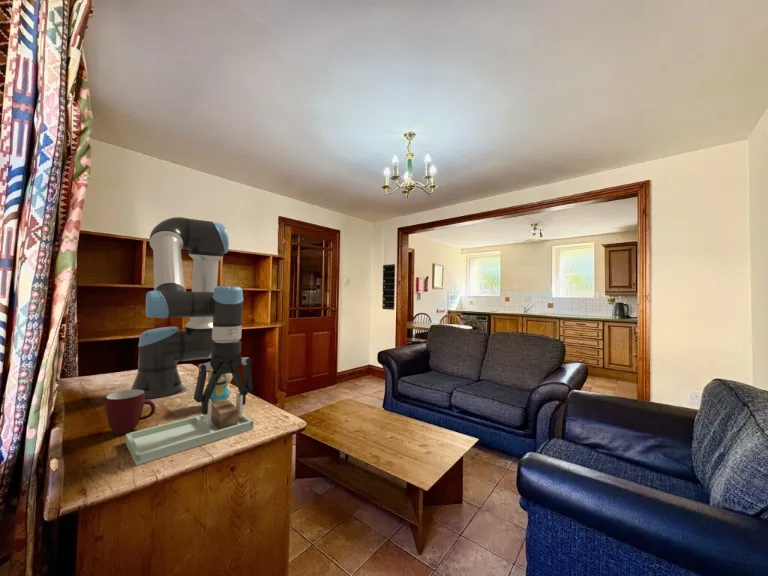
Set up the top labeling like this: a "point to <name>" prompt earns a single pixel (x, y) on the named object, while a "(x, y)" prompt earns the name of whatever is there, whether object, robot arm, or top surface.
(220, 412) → the brown rectangular block
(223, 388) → the toy
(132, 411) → the mug
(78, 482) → the top surface
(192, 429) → the jig
